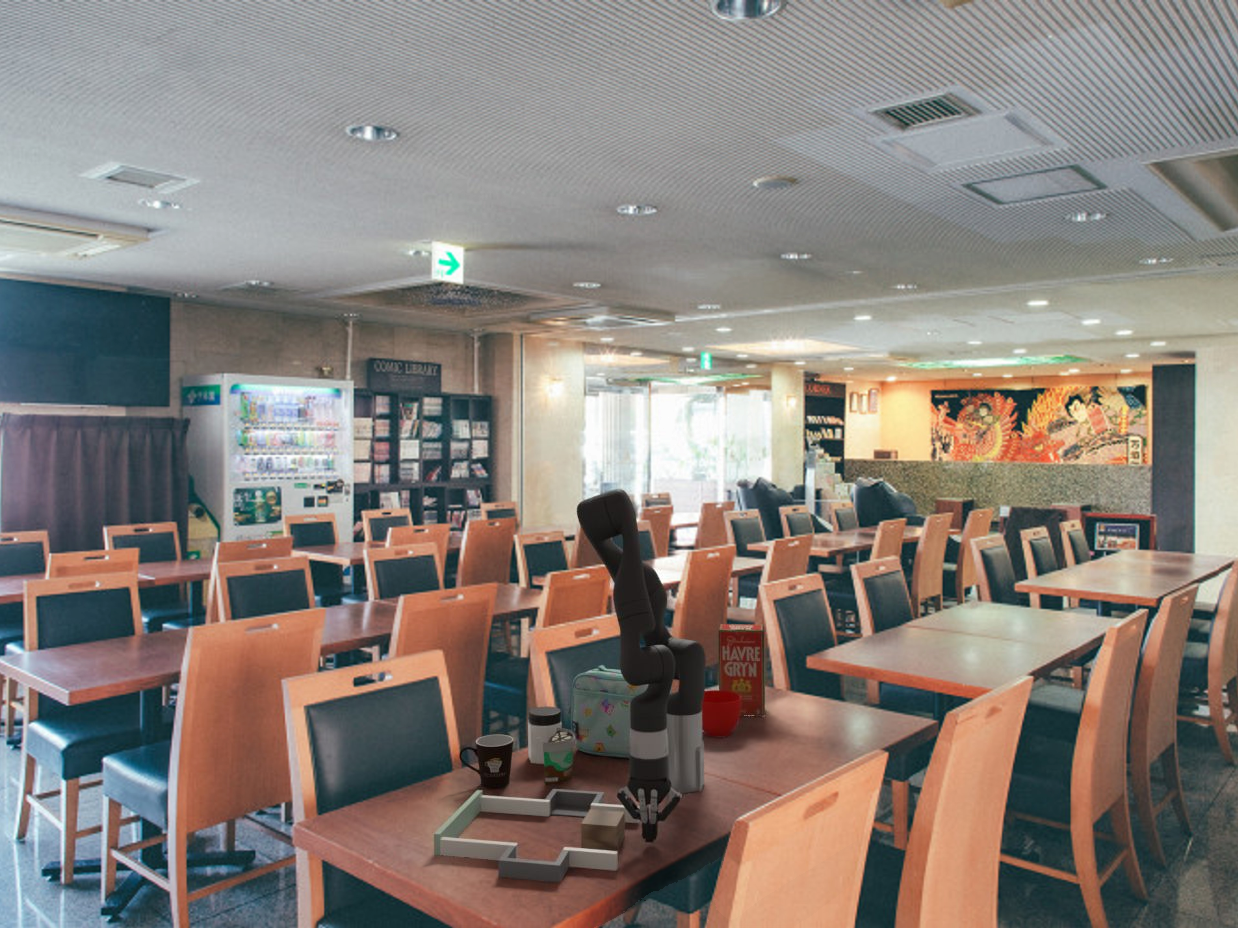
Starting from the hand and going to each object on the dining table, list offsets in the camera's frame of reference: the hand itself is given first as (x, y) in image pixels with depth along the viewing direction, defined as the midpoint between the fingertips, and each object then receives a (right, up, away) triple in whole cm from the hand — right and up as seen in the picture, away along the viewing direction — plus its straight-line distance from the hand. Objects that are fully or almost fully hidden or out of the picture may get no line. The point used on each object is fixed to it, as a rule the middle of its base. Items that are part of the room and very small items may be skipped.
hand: (649, 840), depth 171 cm
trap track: (-22, -1, +5) cm, 22 cm away
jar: (-24, -1, +50) cm, 56 cm away
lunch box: (-6, -1, +54) cm, 54 cm away
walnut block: (-9, -1, +2) cm, 9 cm away
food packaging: (+30, 0, +89) cm, 94 cm away
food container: (-19, -1, +37) cm, 41 cm away
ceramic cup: (+19, -1, +70) cm, 72 cm away
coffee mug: (-36, -1, +34) cm, 50 cm away
